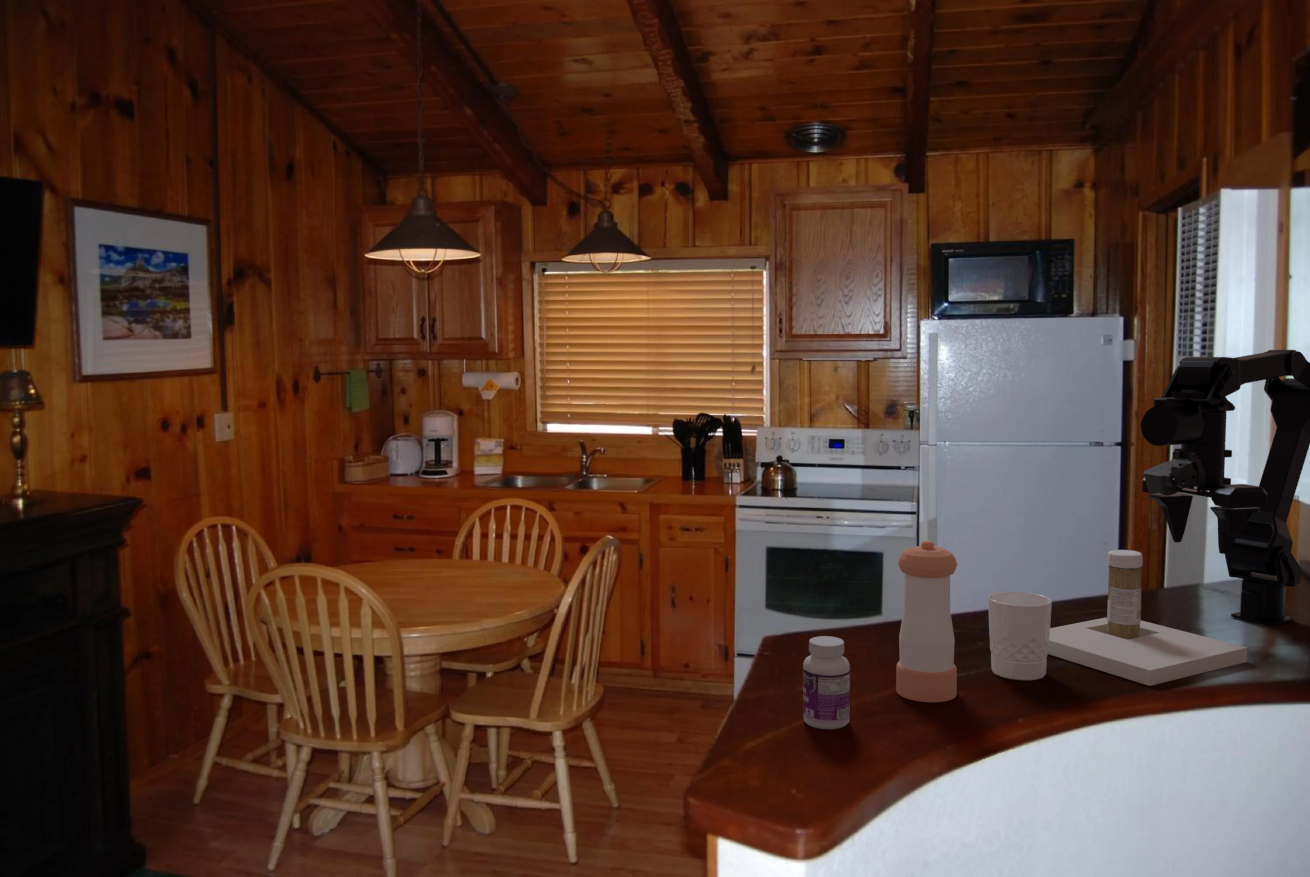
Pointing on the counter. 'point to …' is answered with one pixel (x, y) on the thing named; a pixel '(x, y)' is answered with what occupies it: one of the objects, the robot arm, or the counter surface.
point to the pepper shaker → (927, 626)
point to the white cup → (1019, 634)
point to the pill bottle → (826, 684)
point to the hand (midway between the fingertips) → (1199, 547)
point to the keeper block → (1143, 651)
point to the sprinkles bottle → (1124, 593)
